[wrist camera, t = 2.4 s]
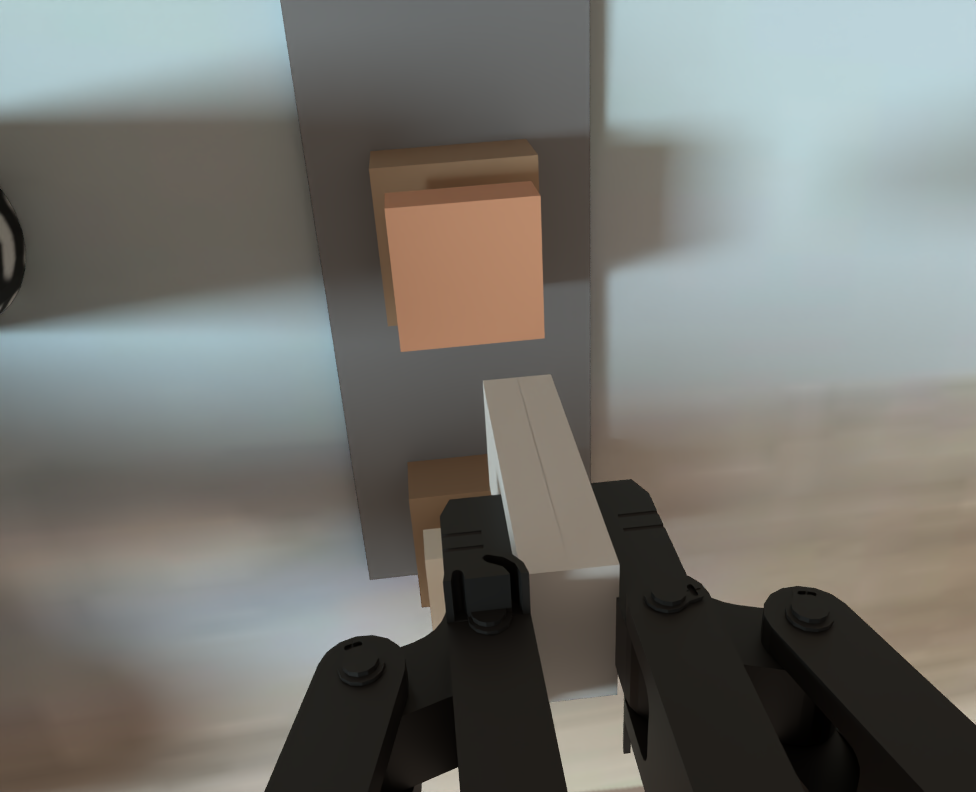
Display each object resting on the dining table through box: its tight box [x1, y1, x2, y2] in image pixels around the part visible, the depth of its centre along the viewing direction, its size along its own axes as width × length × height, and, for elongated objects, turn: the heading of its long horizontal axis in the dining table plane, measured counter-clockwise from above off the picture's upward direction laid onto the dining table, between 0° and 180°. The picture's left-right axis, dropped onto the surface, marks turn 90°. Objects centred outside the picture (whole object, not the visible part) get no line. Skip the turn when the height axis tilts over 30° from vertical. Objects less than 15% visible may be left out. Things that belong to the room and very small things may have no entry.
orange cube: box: [384, 181, 545, 352], centre depth 31 cm, size 5×5×5 cm
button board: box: [280, 0, 591, 607], centre depth 33 cm, size 11×35×4 cm, turn 3°
